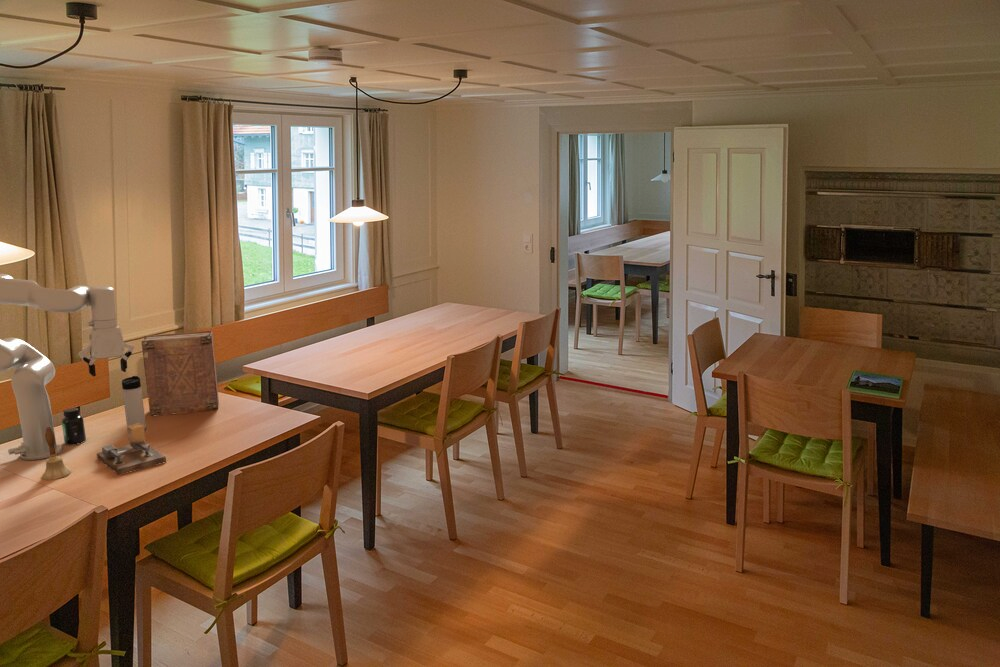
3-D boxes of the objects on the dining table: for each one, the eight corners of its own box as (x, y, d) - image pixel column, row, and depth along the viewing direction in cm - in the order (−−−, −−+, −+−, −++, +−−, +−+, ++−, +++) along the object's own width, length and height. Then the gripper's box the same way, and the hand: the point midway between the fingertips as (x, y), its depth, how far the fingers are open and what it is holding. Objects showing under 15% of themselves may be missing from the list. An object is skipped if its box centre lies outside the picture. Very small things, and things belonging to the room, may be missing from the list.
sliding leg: (142, 456, 267) (139, 433, 266) (129, 447, 276) (126, 425, 274) (154, 453, 270) (151, 430, 268) (141, 444, 278) (138, 422, 277)
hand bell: (43, 482, 255) (36, 433, 251) (39, 473, 261) (32, 426, 258) (73, 475, 260) (66, 427, 256) (68, 467, 266) (61, 421, 263)
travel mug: (150, 427, 303) (143, 375, 299) (140, 433, 297) (134, 380, 292) (134, 427, 304) (127, 375, 299) (124, 433, 297) (117, 380, 293)
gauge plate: (118, 475, 259) (116, 459, 258) (97, 458, 273) (95, 444, 272) (166, 462, 269) (164, 447, 268) (143, 447, 283) (141, 432, 282)
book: (149, 416, 316) (140, 341, 310) (152, 409, 325) (143, 335, 318) (218, 409, 323) (211, 335, 317) (219, 402, 332) (212, 330, 325)
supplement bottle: (63, 446, 285) (58, 413, 283) (65, 440, 292) (61, 408, 289) (85, 443, 288) (80, 411, 285) (87, 437, 294) (82, 405, 291)
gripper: (79, 328, 265) (84, 379, 268) (135, 322, 276) (138, 371, 279) (73, 324, 270) (77, 374, 274) (128, 319, 281) (131, 367, 285)
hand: (108, 373), depth 277 cm, fingers open, 9 cm apart
